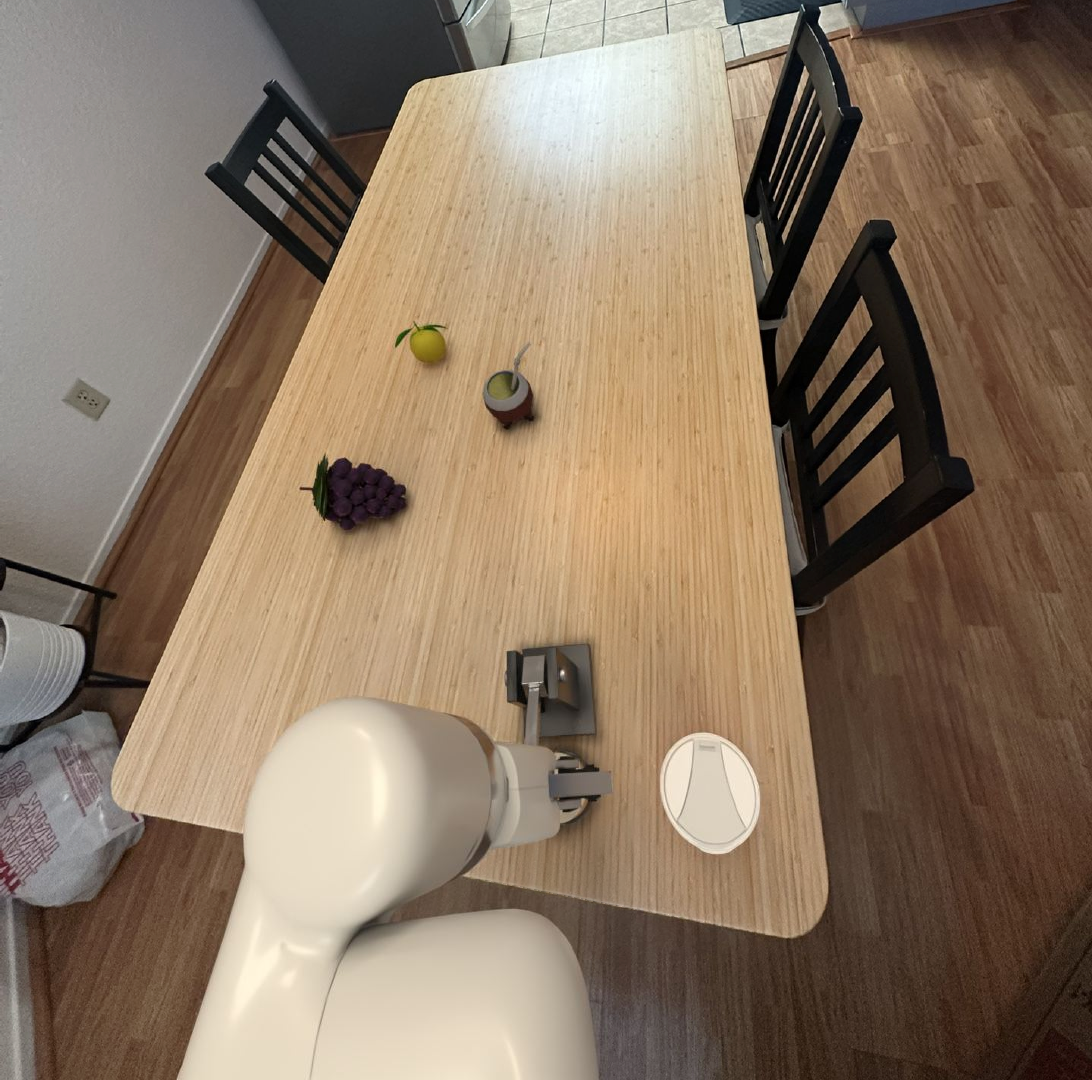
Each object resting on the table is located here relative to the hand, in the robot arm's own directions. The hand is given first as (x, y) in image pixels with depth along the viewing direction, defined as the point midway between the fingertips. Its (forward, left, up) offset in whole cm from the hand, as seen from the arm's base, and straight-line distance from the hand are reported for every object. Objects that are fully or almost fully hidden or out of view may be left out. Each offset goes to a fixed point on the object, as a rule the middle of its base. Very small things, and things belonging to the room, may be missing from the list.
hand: (509, 785), depth 47 cm
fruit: (+34, +27, -24) cm, 50 cm away
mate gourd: (+46, +4, -24) cm, 52 cm away
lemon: (+58, +18, -24) cm, 65 cm away
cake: (0, 0, -24) cm, 24 cm away
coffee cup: (-1, -15, -24) cm, 28 cm away
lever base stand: (+9, 0, -24) cm, 25 cm away
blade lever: (+4, 0, -10) cm, 10 cm away
